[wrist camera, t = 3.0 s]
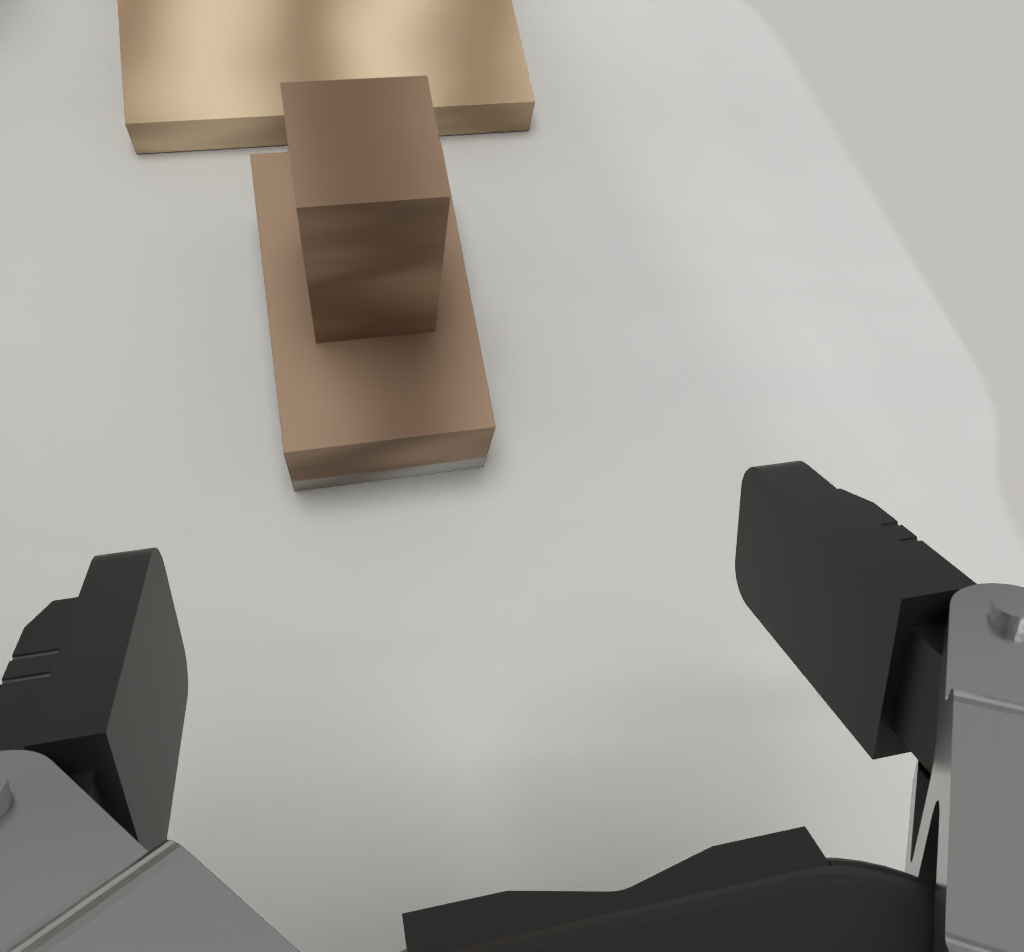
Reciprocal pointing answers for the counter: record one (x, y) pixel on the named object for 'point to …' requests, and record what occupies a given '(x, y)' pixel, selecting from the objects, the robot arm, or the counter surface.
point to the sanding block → (368, 289)
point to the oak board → (310, 64)
